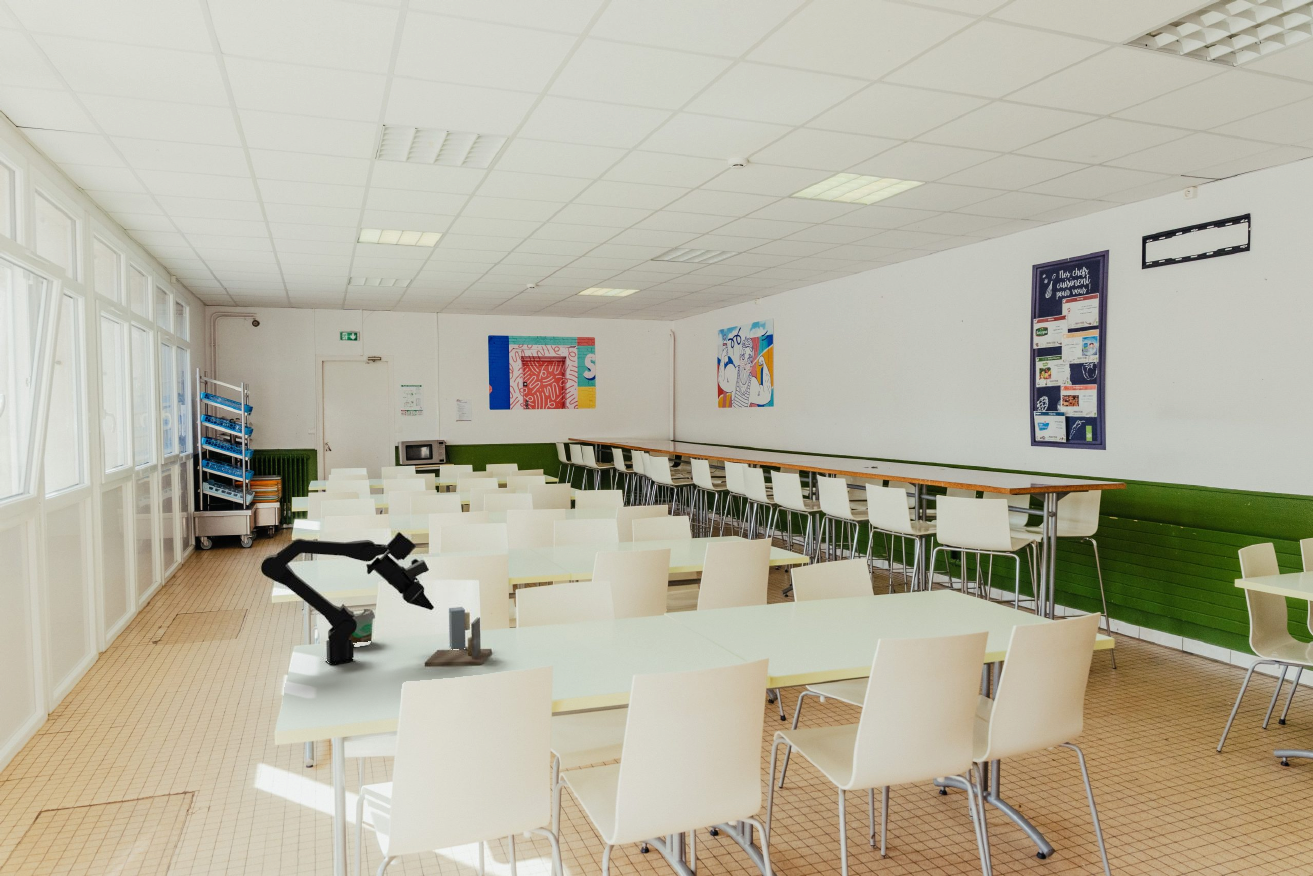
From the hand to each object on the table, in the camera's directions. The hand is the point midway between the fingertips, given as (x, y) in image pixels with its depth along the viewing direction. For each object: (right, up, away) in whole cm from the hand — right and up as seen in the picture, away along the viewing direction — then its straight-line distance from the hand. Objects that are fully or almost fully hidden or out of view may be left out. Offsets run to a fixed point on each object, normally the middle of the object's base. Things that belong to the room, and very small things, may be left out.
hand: (431, 606), depth 246 cm
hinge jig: (+11, -13, -10) cm, 20 cm away
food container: (-24, -14, +10) cm, 30 cm away
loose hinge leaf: (+7, -14, +3) cm, 16 cm away
